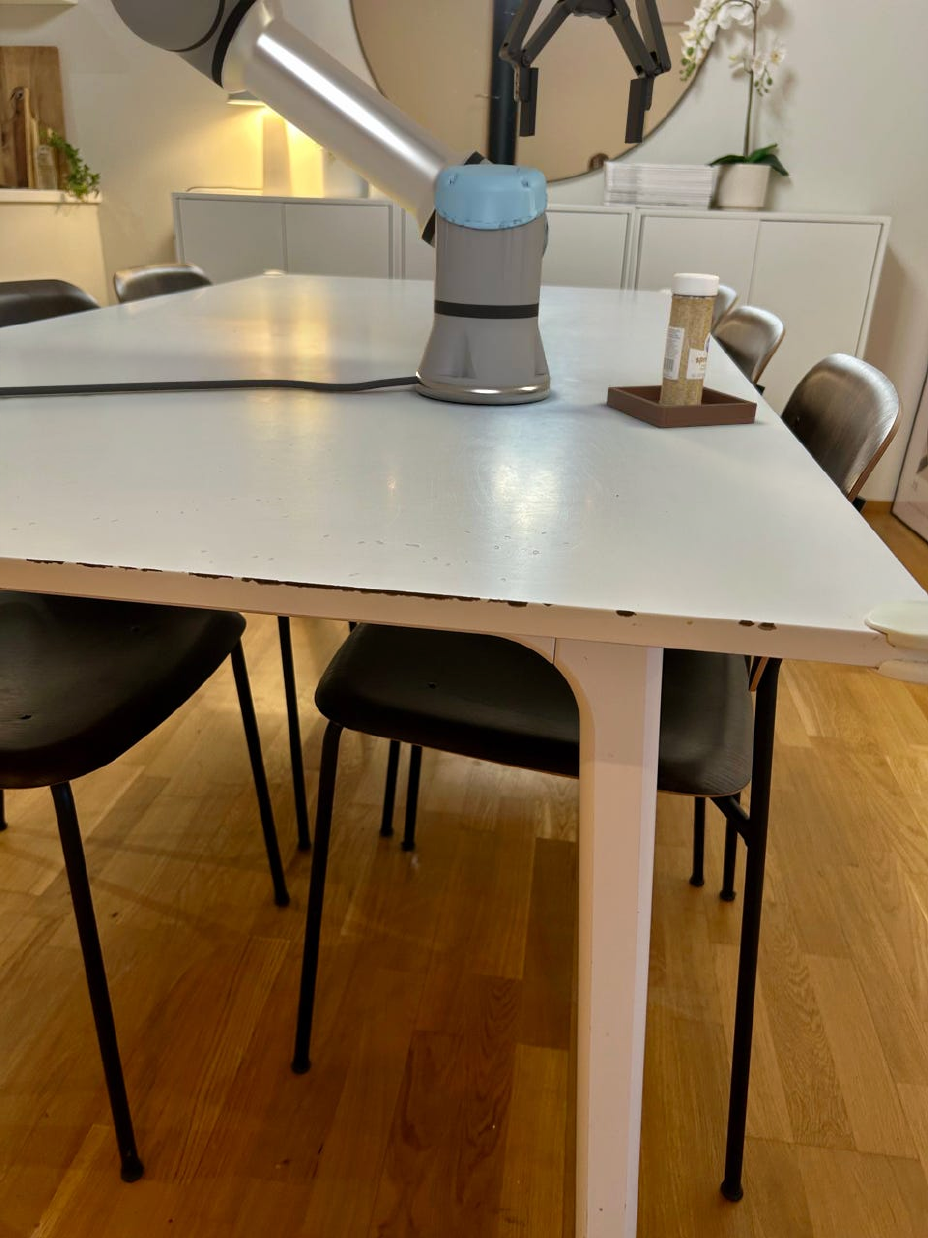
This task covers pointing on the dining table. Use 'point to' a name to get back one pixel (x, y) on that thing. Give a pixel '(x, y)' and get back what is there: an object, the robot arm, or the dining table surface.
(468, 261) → the robot arm
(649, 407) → the serving tray
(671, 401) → the spice jar
